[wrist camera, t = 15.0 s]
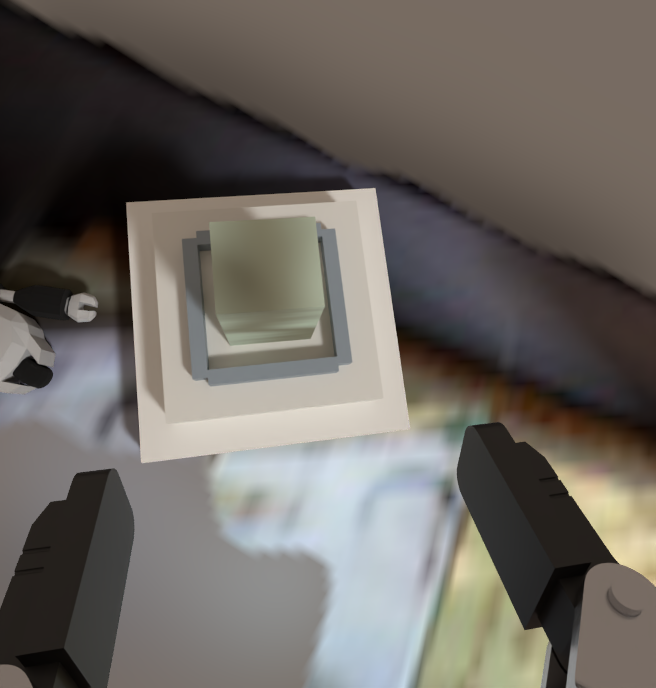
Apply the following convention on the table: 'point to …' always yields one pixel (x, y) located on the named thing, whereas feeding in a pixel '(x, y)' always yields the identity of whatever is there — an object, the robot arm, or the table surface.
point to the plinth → (272, 424)
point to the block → (267, 279)
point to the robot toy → (34, 333)
